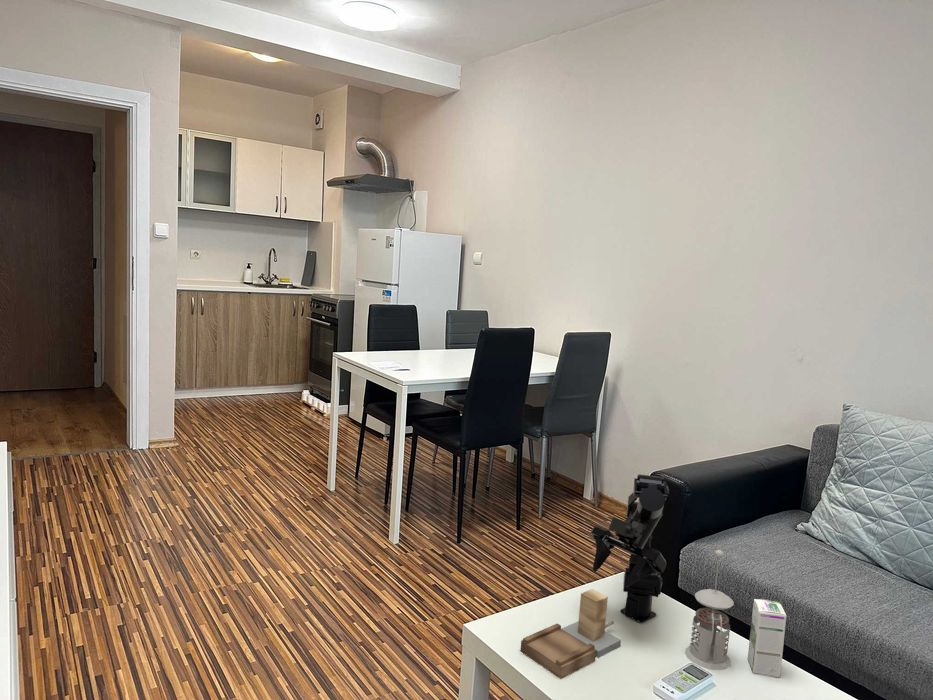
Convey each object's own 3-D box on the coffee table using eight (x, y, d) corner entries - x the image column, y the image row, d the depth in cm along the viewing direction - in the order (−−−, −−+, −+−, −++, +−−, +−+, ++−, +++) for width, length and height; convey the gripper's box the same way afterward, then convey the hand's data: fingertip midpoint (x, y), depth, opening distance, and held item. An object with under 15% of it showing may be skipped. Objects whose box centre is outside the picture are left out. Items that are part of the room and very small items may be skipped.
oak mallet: (605, 619, 160) (608, 582, 159) (620, 628, 157) (624, 589, 156) (577, 632, 154) (580, 593, 153) (592, 641, 151) (596, 601, 149)
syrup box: (780, 678, 143) (788, 614, 142) (751, 673, 145) (759, 610, 143) (774, 663, 149) (781, 601, 147) (745, 658, 150) (753, 597, 148)
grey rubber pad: (583, 624, 161) (583, 618, 160) (620, 646, 152) (621, 639, 152) (560, 634, 155) (561, 628, 155) (597, 657, 147) (598, 651, 147)
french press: (727, 648, 154) (739, 544, 151) (736, 678, 143) (749, 566, 139) (682, 641, 156) (693, 538, 153) (688, 670, 144) (700, 559, 141)
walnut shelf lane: (554, 635, 155) (555, 622, 154) (595, 661, 146) (596, 646, 145) (520, 651, 148) (521, 637, 147) (560, 678, 139) (562, 663, 138)
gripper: (598, 493, 164) (564, 546, 158) (664, 518, 150) (629, 577, 144) (615, 517, 170) (583, 569, 164) (680, 544, 156) (647, 601, 150)
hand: (609, 578), depth 155 cm, fingers open, 9 cm apart
